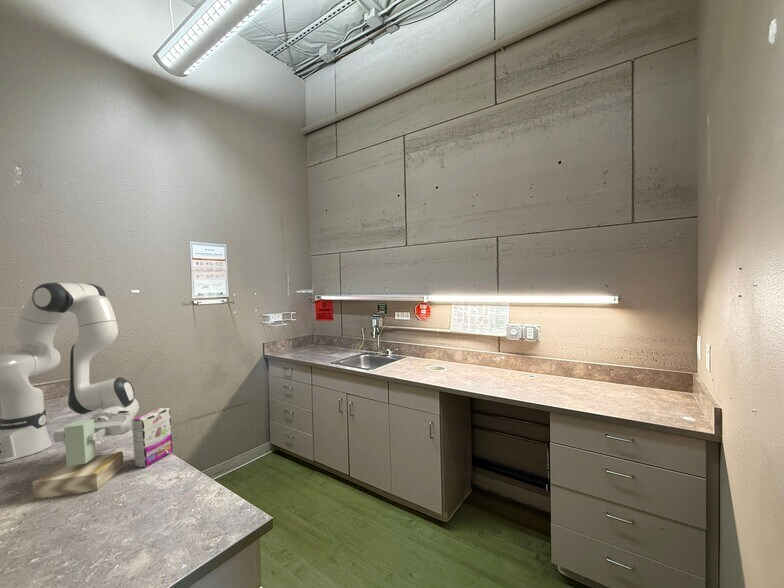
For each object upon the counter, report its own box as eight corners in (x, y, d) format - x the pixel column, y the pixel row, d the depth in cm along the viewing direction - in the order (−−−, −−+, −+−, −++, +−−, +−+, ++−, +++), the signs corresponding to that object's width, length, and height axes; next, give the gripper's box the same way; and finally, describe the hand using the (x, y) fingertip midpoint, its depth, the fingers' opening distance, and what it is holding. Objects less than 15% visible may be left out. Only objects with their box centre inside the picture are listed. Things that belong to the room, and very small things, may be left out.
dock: (33, 499, 99) (32, 481, 98) (68, 473, 112) (67, 458, 112) (97, 490, 102) (96, 473, 102) (123, 466, 116) (122, 451, 116)
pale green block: (66, 466, 104) (64, 427, 104) (77, 458, 109) (75, 421, 109) (85, 463, 105) (83, 425, 105) (95, 455, 110) (93, 419, 110)
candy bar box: (161, 451, 126) (159, 407, 126) (173, 452, 125) (171, 407, 125) (133, 467, 115) (130, 419, 115) (145, 468, 114) (143, 419, 114)
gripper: (70, 417, 117) (37, 434, 104) (137, 410, 122) (114, 425, 108) (71, 435, 117) (39, 454, 104) (138, 428, 122) (115, 445, 108)
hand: (78, 439), depth 106 cm, fingers closed on pale green block, 5 cm apart
